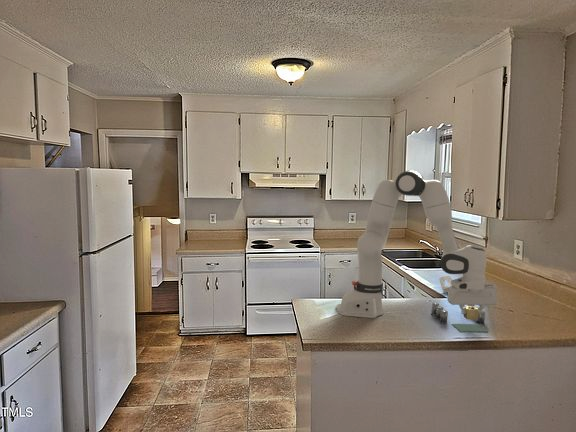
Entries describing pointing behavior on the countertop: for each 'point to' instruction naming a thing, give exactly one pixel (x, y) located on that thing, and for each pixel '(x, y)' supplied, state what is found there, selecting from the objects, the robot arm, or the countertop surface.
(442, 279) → the mounting bracket
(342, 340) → the countertop surface
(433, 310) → the spacer rows
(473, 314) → the brass nut
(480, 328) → the rubber mat
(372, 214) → the robot arm
